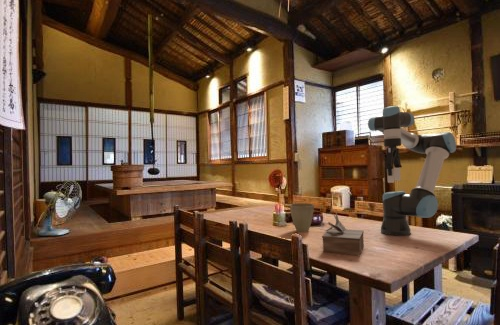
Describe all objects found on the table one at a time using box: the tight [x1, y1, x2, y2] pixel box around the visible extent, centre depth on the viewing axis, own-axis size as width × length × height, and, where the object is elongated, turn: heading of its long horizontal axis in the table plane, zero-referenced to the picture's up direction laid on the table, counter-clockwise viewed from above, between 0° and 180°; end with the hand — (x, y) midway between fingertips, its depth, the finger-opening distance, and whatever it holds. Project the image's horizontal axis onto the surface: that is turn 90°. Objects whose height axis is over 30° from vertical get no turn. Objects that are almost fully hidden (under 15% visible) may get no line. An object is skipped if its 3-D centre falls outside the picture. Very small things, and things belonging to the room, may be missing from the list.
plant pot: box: [289, 202, 315, 233], centre depth 181 cm, size 15×15×16 cm
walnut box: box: [321, 228, 365, 257], centre depth 140 cm, size 16×16×8 cm
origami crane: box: [324, 210, 348, 234], centre depth 142 cm, size 11×10×10 cm
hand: (394, 181), depth 144 cm, fingers open, 13 cm apart
